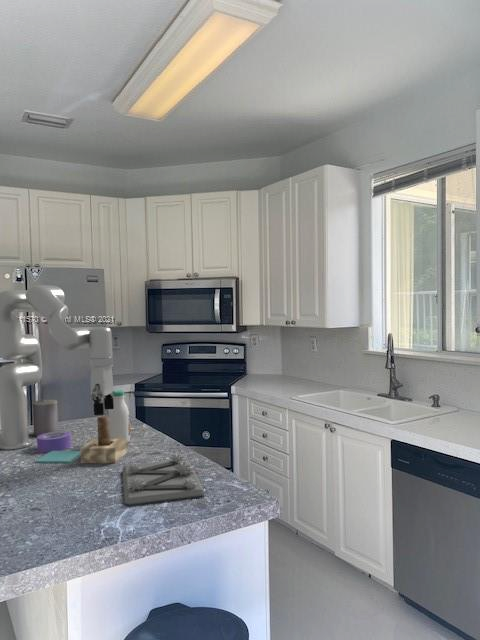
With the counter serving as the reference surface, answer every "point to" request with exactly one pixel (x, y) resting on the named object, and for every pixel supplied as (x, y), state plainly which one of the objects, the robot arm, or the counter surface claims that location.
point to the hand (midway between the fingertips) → (104, 411)
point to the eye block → (103, 451)
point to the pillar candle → (45, 417)
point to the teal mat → (59, 457)
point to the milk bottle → (119, 418)
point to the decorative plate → (161, 481)
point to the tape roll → (53, 441)
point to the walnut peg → (103, 431)
